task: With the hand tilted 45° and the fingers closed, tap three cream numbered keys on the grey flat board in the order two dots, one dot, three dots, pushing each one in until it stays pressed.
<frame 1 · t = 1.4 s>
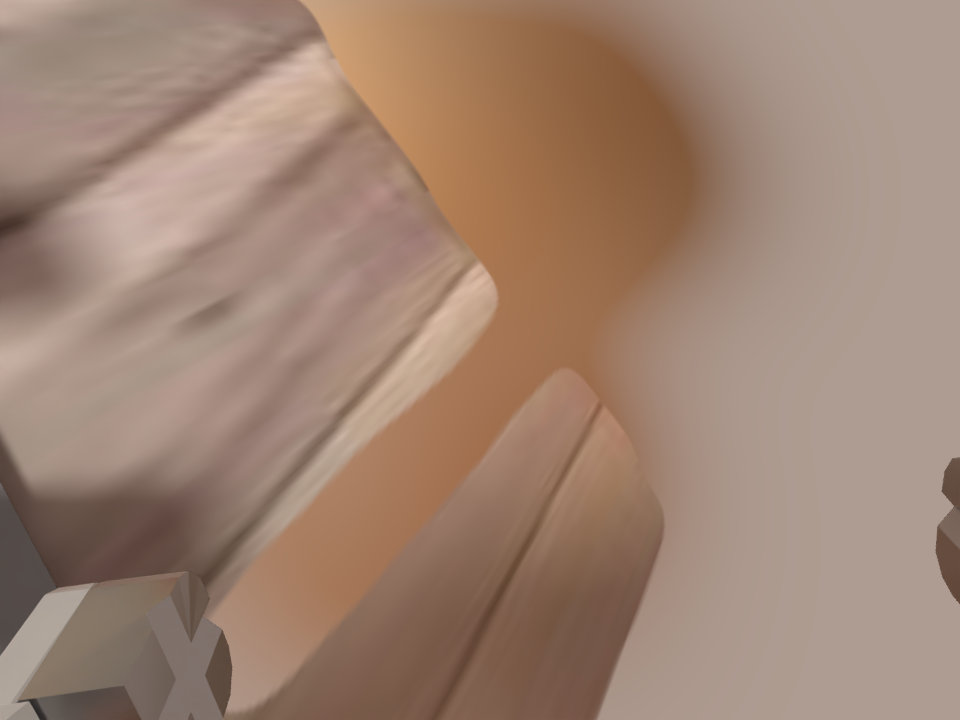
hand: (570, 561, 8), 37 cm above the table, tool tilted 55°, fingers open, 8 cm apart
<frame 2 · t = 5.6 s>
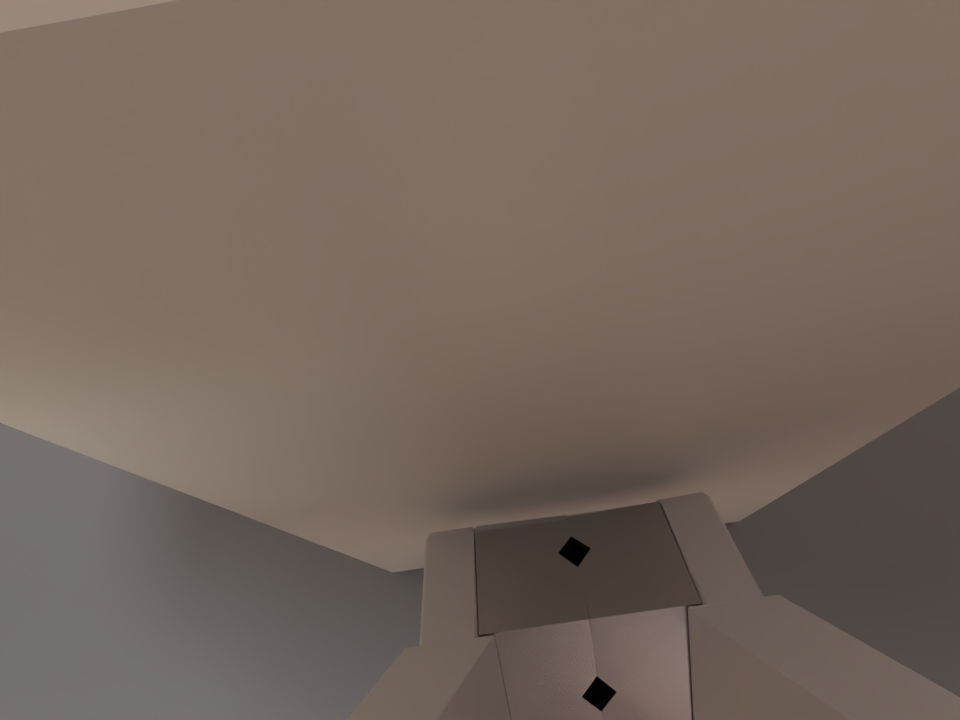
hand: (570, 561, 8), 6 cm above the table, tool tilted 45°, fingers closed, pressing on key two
key two: (537, 282, 8), point 7 cm above the table, slide at 1.4 cm, touching gripper
grey flat board: (553, 495, 14), on the table
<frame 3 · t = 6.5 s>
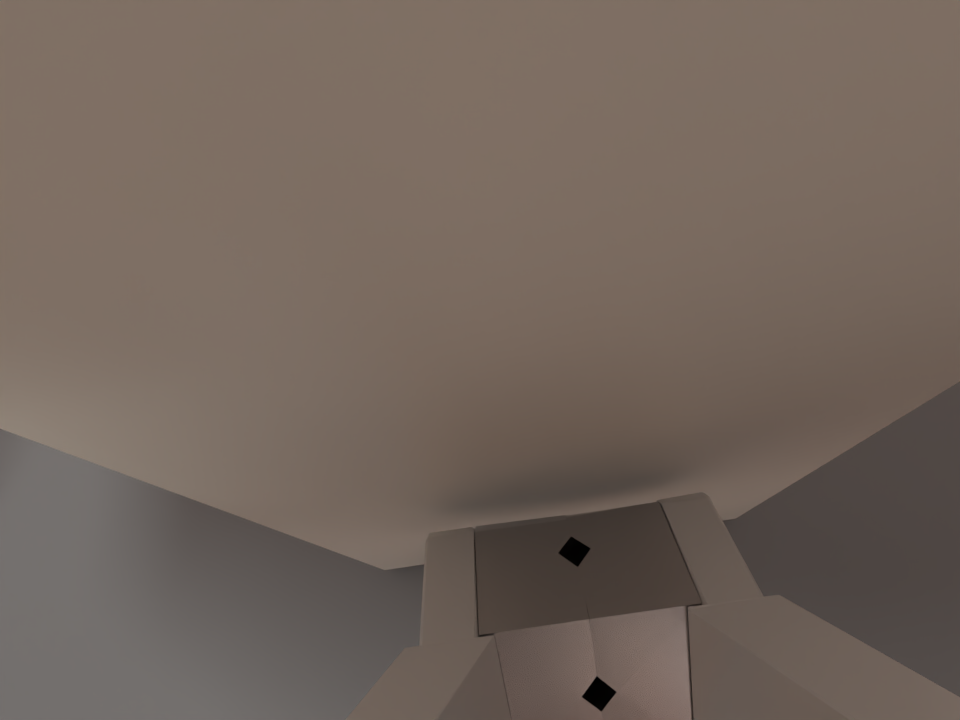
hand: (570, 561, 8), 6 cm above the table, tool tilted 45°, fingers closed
key two: (529, 274, 8), point 7 cm above the table, slide at 3.8 cm
grey flat board: (570, 626, 13), on the table
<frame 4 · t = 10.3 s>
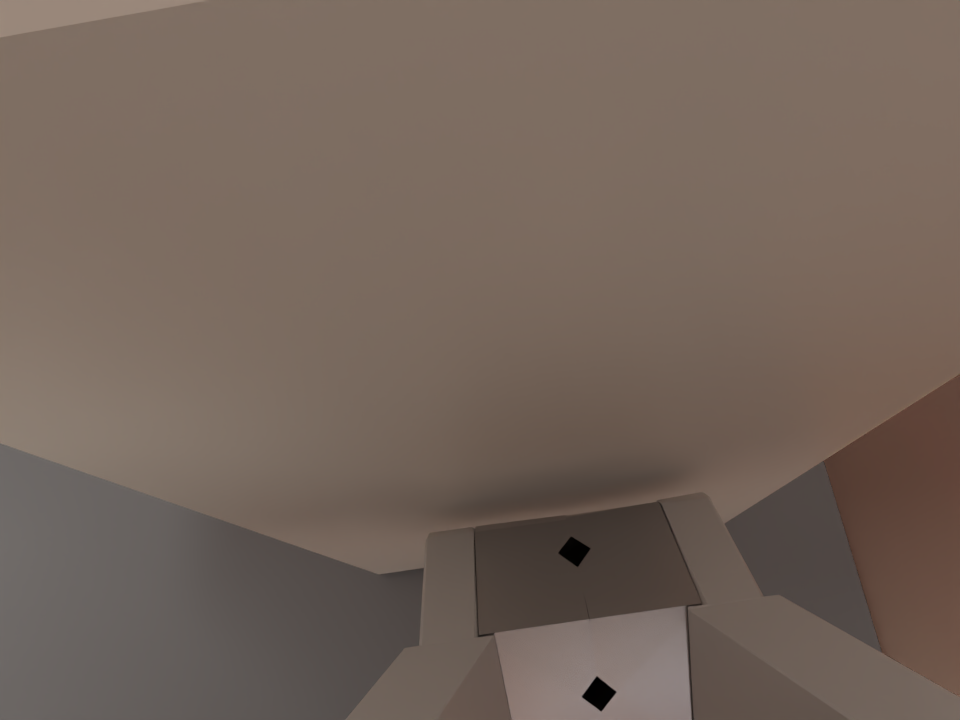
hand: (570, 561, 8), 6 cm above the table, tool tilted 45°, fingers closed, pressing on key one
key one: (516, 286, 8), point 7 cm above the table, slide at 0.5 cm, touching gripper
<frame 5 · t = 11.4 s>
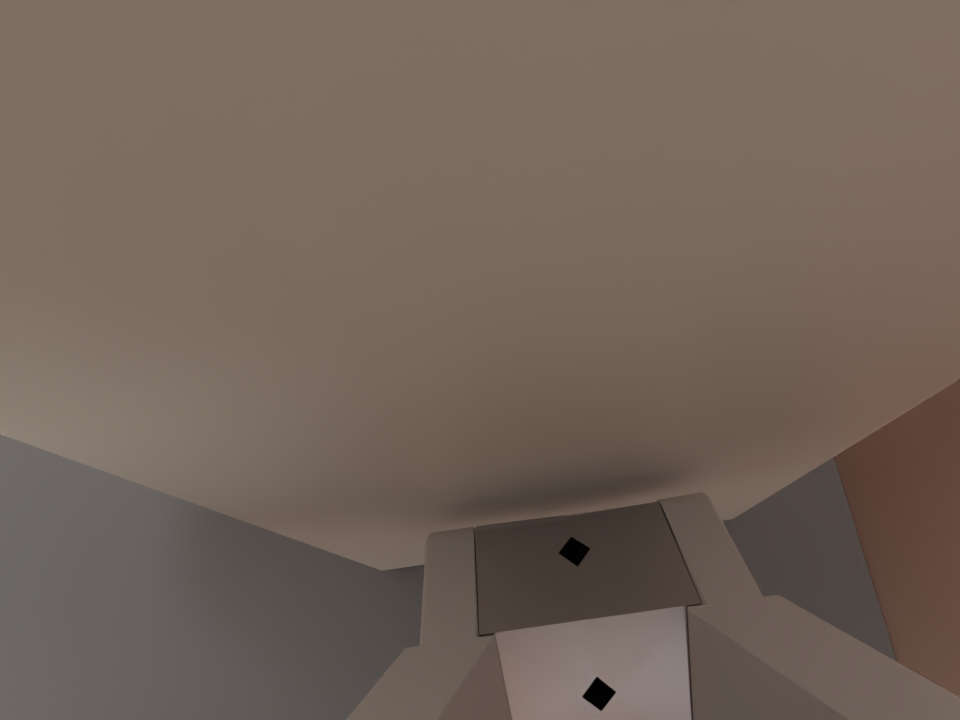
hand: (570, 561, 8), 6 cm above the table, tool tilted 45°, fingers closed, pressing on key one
key one: (524, 275, 8), point 7 cm above the table, slide at 3.8 cm, touching gripper
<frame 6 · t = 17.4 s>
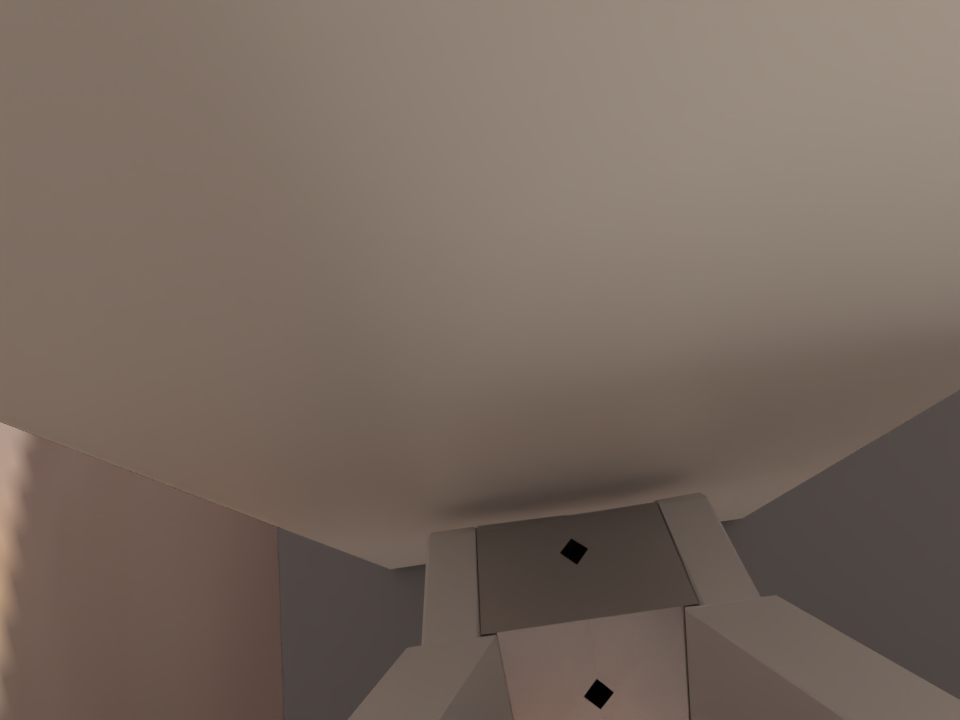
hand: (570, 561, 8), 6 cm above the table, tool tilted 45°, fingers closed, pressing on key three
key three: (538, 272, 8), point 7 cm above the table, slide at 3.8 cm, touching gripper
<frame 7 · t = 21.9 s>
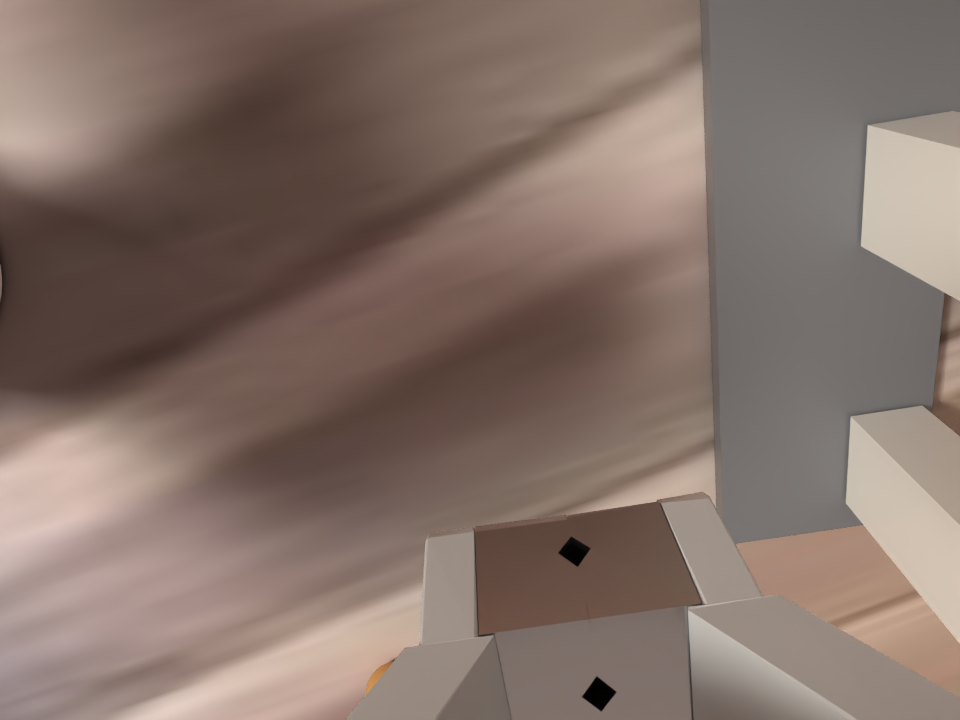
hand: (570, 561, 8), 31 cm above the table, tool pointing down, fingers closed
grey flat board: (824, 186, 38), on the table
key one: (947, 518, 38), point 7 cm above the table, slide at 3.8 cm
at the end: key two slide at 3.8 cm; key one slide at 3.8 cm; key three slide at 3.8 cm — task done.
